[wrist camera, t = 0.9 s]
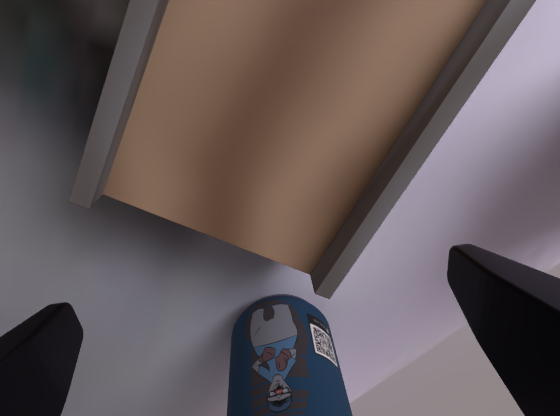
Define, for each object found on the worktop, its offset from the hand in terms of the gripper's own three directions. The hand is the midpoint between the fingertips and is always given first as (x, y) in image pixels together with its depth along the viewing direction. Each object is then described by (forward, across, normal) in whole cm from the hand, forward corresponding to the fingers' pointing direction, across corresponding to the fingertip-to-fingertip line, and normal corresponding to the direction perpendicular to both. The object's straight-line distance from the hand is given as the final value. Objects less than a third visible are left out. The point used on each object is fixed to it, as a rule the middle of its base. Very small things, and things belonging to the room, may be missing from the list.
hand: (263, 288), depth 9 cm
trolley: (+14, -2, -4) cm, 14 cm away
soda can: (+14, 0, +14) cm, 20 cm away
